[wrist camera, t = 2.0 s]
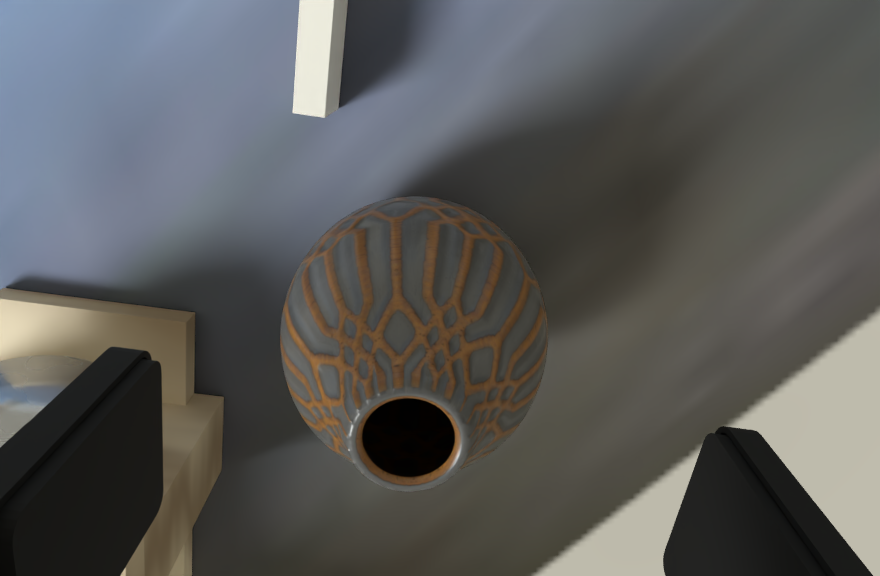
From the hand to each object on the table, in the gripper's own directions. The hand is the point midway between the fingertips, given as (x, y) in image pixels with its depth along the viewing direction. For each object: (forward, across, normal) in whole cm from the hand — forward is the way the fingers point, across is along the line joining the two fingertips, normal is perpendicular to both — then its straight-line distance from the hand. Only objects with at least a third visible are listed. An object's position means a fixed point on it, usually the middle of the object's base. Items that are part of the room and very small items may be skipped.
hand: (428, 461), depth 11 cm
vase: (+10, 0, +1) cm, 10 cm away
